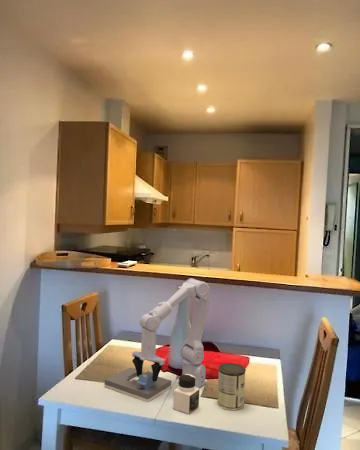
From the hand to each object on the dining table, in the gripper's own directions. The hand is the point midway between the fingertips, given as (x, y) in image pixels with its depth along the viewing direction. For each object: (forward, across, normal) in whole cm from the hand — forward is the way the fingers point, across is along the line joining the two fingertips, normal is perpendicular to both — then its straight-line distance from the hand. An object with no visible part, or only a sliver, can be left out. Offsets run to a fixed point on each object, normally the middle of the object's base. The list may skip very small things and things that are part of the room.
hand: (147, 378), depth 164 cm
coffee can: (+6, +31, +12) cm, 34 cm away
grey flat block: (+6, -6, +2) cm, 9 cm away
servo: (+3, 0, 0) cm, 3 cm away
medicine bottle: (+6, +19, -1) cm, 20 cm away
